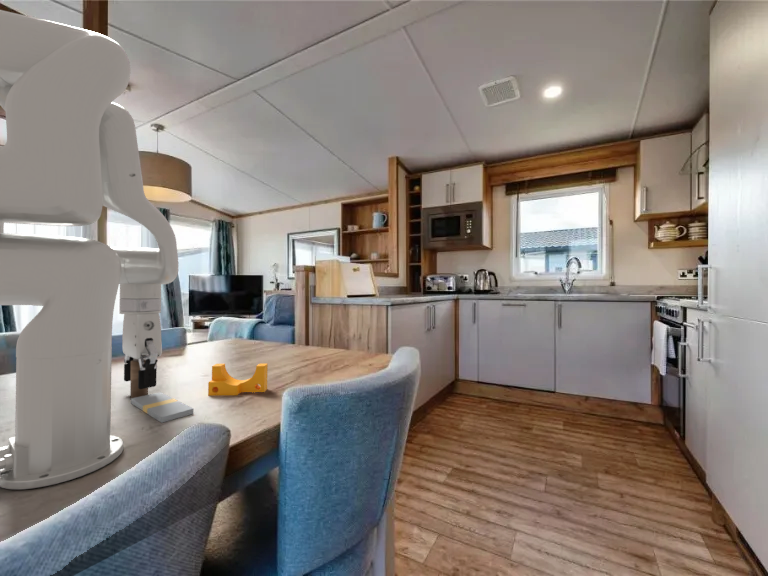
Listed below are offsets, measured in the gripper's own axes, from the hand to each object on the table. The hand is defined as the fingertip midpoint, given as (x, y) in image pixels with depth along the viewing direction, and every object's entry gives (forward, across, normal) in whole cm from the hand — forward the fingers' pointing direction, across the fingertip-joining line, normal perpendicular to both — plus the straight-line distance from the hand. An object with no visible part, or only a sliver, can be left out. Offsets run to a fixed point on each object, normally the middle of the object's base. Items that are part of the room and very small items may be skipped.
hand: (139, 383), depth 73 cm
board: (+3, -12, 0) cm, 12 cm away
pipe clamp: (+3, -15, -15) cm, 21 cm away
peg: (+3, 0, 0) cm, 3 cm away
